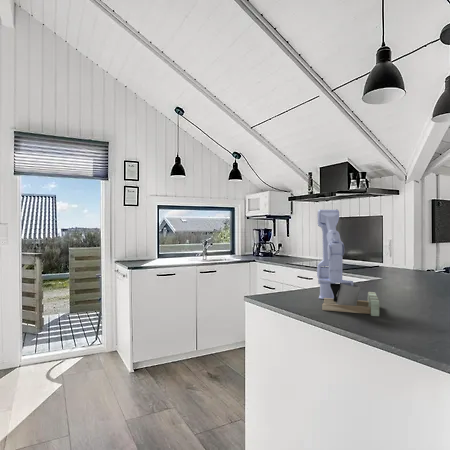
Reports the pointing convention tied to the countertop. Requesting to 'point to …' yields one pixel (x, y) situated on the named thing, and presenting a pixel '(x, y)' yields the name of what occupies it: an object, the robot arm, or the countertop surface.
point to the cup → (348, 295)
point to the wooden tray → (361, 307)
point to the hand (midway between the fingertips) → (335, 301)
